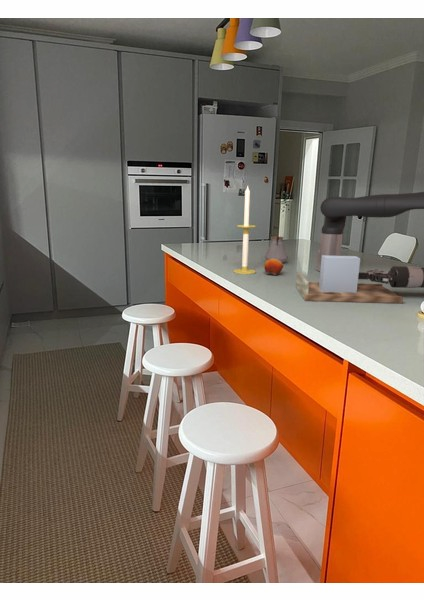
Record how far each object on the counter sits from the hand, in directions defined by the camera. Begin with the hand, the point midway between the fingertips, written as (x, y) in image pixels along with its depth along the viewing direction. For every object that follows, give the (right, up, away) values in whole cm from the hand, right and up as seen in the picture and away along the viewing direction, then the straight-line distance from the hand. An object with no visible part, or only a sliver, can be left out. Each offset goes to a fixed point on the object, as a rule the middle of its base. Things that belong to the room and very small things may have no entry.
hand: (356, 275), depth 148 cm
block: (-6, -5, +1) cm, 8 cm away
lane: (-3, -7, +2) cm, 8 cm away
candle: (-36, +4, +40) cm, 54 cm away
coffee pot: (-19, +9, +60) cm, 64 cm away
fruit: (-24, +2, +35) cm, 43 cm away
